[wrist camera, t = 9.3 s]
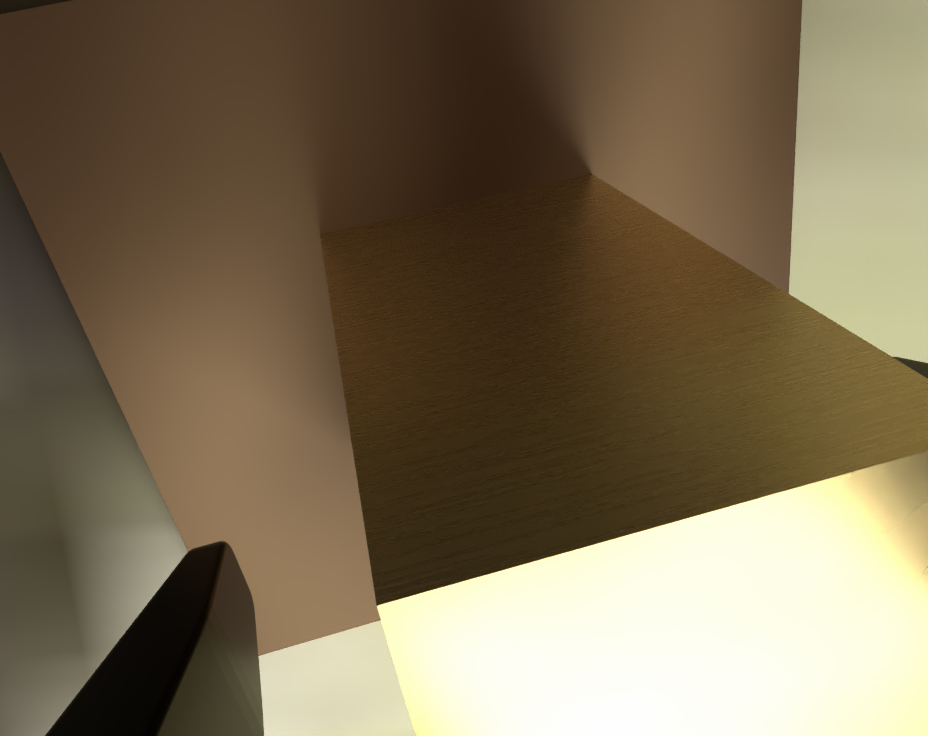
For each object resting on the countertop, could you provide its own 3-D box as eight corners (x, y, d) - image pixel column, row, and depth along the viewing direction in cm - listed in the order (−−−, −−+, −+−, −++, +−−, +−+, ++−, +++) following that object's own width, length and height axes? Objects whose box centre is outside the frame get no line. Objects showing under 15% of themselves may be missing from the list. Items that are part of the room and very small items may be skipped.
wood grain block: (592, 173, 12) (1008, 428, 5) (609, 405, 14) (919, 803, 7) (319, 234, 12) (376, 605, 5) (380, 464, 14) (481, 953, 7)
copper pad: (788, -137, 11) (808, -142, 11) (766, 489, 17) (779, 502, 16) (-45, 23, 10) (-60, 25, 9) (241, 642, 16) (239, 661, 15)
